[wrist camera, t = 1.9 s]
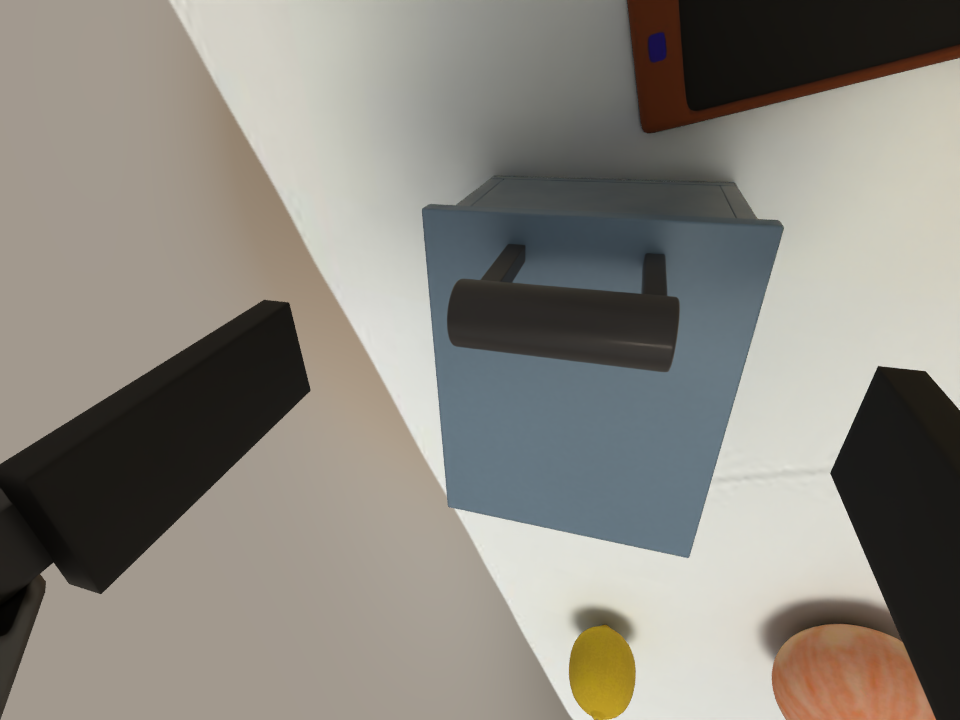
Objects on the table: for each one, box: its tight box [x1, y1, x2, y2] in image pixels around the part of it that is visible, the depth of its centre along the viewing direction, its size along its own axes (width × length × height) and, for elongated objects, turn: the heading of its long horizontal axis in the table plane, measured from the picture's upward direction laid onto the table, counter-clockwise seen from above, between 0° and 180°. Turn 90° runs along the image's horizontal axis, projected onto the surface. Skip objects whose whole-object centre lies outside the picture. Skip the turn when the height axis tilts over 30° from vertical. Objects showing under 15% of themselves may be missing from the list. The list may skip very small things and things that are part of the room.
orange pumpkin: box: [772, 624, 936, 720], centre depth 35 cm, size 11×11×8 cm
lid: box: [422, 204, 784, 558], centre depth 19 cm, size 16×13×7 cm
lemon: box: [569, 625, 636, 720], centre depth 43 cm, size 6×6×8 cm
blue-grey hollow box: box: [457, 176, 757, 219], centre depth 27 cm, size 16×13×10 cm
